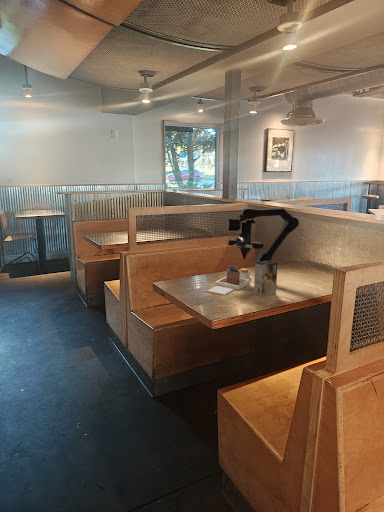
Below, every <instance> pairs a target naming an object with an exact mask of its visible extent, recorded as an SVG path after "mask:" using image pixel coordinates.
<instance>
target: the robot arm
mask: <svg viewBox="0 0 384 512" xmlns="http://www.w3.org/2000/svg"><path fill="white" fill-rule="evenodd" d="M240 211H241V212H240V214H239V216H238V217H237V218H230V217H229V218H227V219H228V220H227V223H226V229H227V232H239V230H240V232H239V235H238V237H237V238H236V239H235V238H232V239H229V240H228V241H227V243H228V244H227V245H228V246H234V245H235V246H236V247H237V248H238V249H239V250H240V252H241V255H242V258H243V260H246V259H247V257H248V255H249V253H250V251H251V250H252V249H256V250H261V249H263V248H264V243H263V242H261V241H260V242H259V241H255V242H253V240H252V235H253V232H252V229H253V227H252V226H253V224H256V223H257V221H255V218H259V217H275V216H277V217H278V216H279V218H281V219H282V220H283V221H284V222H283V224H282V226H281V230H280V231H279V232H278V234H277V235H276V237H275V238H274V239H273V240H272V242H271V243H270V245H269V246H268V247H267V248H266V250H264V251H263V250H261V251H259V253H258V255H257V258H256V262H260V261H268V260H270V261H273V260H272V259H273V255H274V254H275V253H276V251H277V250H278V249H279V247H280V246H281V245H282V243H283V242H284V240H286V238H287V237H288V235H289V234H290V233H292V232H293V231H295V230H296V228H298V227H299V225H300V221H299V219H298V218H297V217H295V216H292V214H290V213H289V212H288V211H287V210H286V209H285V208H283V207H278V208H277V207H275V208H260V209H258V208H253V207H244V208H242V209H241V210H240Z"/></svg>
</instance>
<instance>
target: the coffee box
mask: <svg viewBox="0 0 384 512" xmlns="http://www.w3.org/2000/svg"><path fill="white" fill-rule="evenodd" d="M277 277H278V262H276V261H273V260H271V261H270V260H268V261H260V262H257V261H255V263H254V278H253V279H254V281H253V283H254V285H253V293H254V294H255V295H258V296H259V297H267V296H271V295H276V294H277V279H278V278H277Z"/></svg>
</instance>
